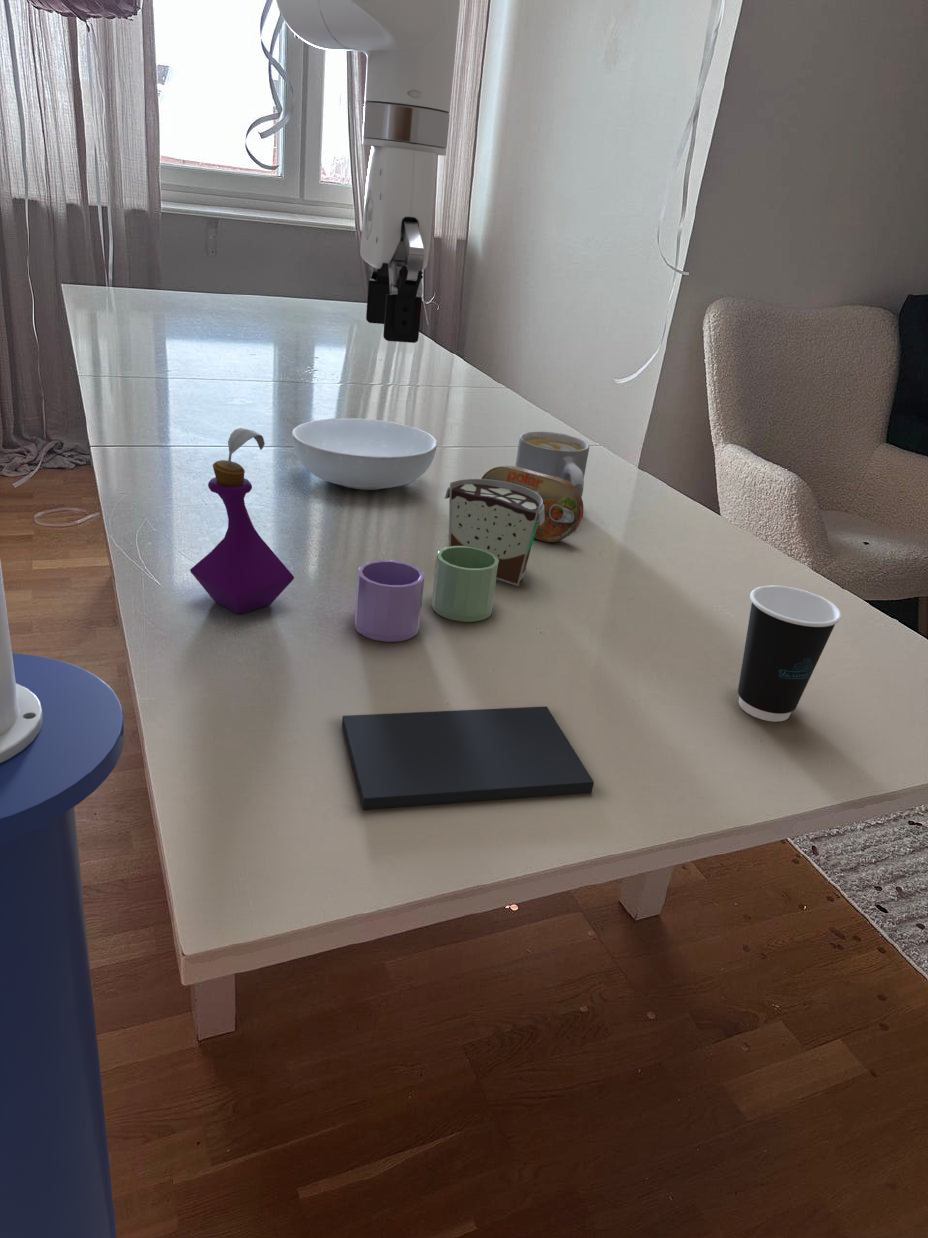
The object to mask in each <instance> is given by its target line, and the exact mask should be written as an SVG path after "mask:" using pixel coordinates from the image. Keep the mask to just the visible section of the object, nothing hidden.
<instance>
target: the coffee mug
mask: <svg viewBox="0 0 928 1238" xmlns="http://www.w3.org/2000/svg"><path fill="white" fill-rule="evenodd" d="M517 445H518V446H517V454H516V460H515V466H516V467H520V468H523V469H527V470H531V471H534V472H538V473H542V474H546V475H550V476H554V477H558V478H562V479H564V480H567V481H568V482H570V483H571V484H572V485H574V486H575V488H576V489H577V490H578V492H579V493H580V495H581V498H583V493H584V486H585V475H586V470H587V469H586V468H587V463H588V458H589V452H590V444H589V443H588V442H587V441H585V440H584V439H583V438H579V437H577V436H573V435H571V434H567V433H562V432H555V431H554V432H553V431H545V430H542V431H541V430H535V431H526V432H523V433H521V434H520V436H519V439H518V444H517Z"/></svg>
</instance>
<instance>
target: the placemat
mask: <svg viewBox="0 0 928 1238" xmlns="http://www.w3.org/2000/svg"><path fill="white" fill-rule="evenodd" d="M341 727H342V731H343V735H344V739H345V743H346V747H347V751H348V755H349V760H350V763H351V767H352V772H353V775H354V779H355V784H356V787H357V791H358V795H359V798H360V803H361V807H362V810H374V809H387V808H401V807H412V806H413V807H414V806H415V807H416V806H426V805H427V806H428V805H438V804H439V805H441V804H453V803H467V802H479V801H493V800H505V799H518V798H519V799H520V798H521V799H522V798H533V797H546V796H558V795H571V794H572V795H573V794H585V793H586V794H587V793H593V790H594V784H595V781H594V779H593V778H592V776H591V775H590V773H589V772H588V770H587V769H586V767H585V765H584V764H583V762H582V760H581V759H580V758H579V756H578V754H577V753H576V751H575V749H574V748H573V746H572V745H571V743H570V741H569V740H568V738H567V736H566V735H565V733H564V731H563V730H562V729H561V726H560V725H559V724H558V722H557V721H556V718H555V717H554V716H553V714H552V713H551V711H550V709H549V708H548V706H544V705H543V706H525V707H524V706H523V707H506V708H505V707H502V708H484V709H481V708H480V709H459V710H458V709H457V710H437V711H416V712H396V713H395V712H393V713H371V714H353V715H342V717H341Z"/></svg>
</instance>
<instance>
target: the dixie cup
mask: <svg viewBox="0 0 928 1238" xmlns="http://www.w3.org/2000/svg"><path fill="white" fill-rule="evenodd" d="M749 599H750V601H751V606H750V611H749V617H748V624H747V631H746V637H745V643H744V649H743V654H742V655H743V656H742V662H741V669H740V675H739V680H738V681H739V682H738V687H737V693H738V696H739V697H738V705H739V707H740V708H741V709H742V711H744V712H745V713H747V714H748V715H750V716H752V717H754V718H756V719H760V720H763V721H767V722H775V723H776V722H777V723H778V722H784V721H787V720H788V719H789V718H790V716H791V714H792V712H794V711H795V710H796V708H797V707H798V705H799V703H800V700H801V698H802V697H803V694H804V692H805V690H806V688H807V686H808V683H809V681H810V679H811V677H812V674H813V673H814V670H815V668H816V666H817V664H818V662H819V660H820V657H821V655H822V653H823V651H824V649H825V647H826V645H827V643H828V641H829V639H830V637H831V634H832V633H833V631H834V628H835V626H836V624H838V623H839V622H840V621H841V620H842V618H843V617H842V616H843V615H842V612H841V610H840V609H839V607H838V606H837V605H835V603H833V602H832V601H830V600H828V599H827V598H825V597H823V596H821V595H818V594H816V593H815V592H814V593H813V592H811V591H807V590H804V589H801V588H796V587H791V586H785V585H775V584H774V585H772V584H771V585H770V584H769V585H763V586H762V585H761V586H759V587H755V588H754V589H753V590H751V592H750V594H749Z"/></svg>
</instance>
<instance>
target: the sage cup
mask: <svg viewBox="0 0 928 1238" xmlns="http://www.w3.org/2000/svg"><path fill="white" fill-rule="evenodd" d="M498 565H499V559H498V558H497V557H496V555H494V554H492V553H491V552H489V551H486V550H483V549H480V548H476V547H470V546H451V547H449V546H446V547H443V548H441V549H440V550H438V552H437V554H436V559H435V569H434V578H433V587H432V595H431V597H432V598H431V607H432V610H433V611H434V612H435V613H436V614H437V615H439V616H440V617H443V618H445V619H448V620H451V621H455V622H461V623H462V622H463V623H475V622H480V621H484V620H486V619H488V618H489V617H490V616H491V615H492V611H493V606H494V599H495V591H496V585H497V572H498Z"/></svg>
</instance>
